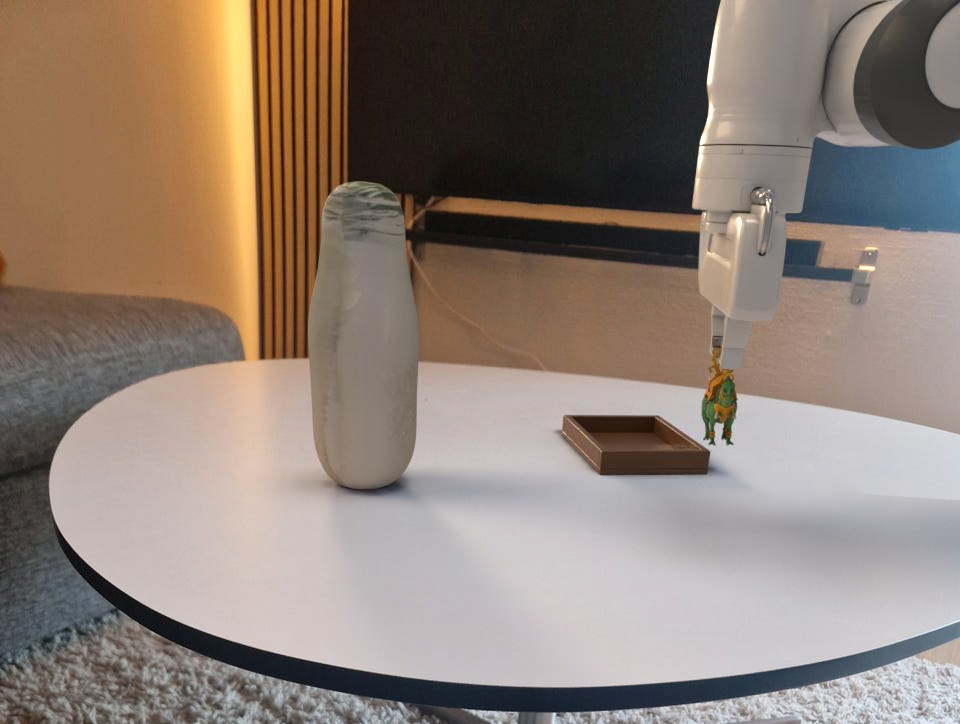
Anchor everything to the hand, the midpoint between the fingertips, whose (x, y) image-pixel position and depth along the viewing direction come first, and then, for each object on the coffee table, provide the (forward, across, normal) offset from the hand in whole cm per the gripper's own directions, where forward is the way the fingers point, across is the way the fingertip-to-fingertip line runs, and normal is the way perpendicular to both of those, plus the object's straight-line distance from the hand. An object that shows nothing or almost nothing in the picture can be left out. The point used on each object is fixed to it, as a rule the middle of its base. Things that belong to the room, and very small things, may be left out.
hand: (724, 362), depth 82 cm
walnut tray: (+15, +25, +5) cm, 30 cm away
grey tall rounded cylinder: (+15, +5, +33) cm, 37 cm away
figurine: (+7, +1, 0) cm, 7 cm away
